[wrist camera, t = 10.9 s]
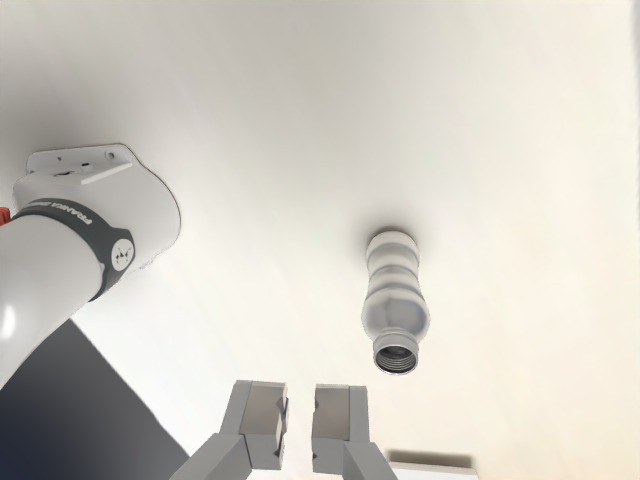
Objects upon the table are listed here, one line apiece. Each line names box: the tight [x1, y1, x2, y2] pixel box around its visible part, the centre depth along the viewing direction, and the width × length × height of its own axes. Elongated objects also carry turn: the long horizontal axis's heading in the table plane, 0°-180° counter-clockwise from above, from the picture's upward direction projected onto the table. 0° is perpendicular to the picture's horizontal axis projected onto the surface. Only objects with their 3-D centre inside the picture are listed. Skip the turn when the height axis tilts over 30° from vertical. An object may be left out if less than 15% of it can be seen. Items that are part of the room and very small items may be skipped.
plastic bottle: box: [361, 231, 430, 375], centre depth 39 cm, size 6×7×20 cm
